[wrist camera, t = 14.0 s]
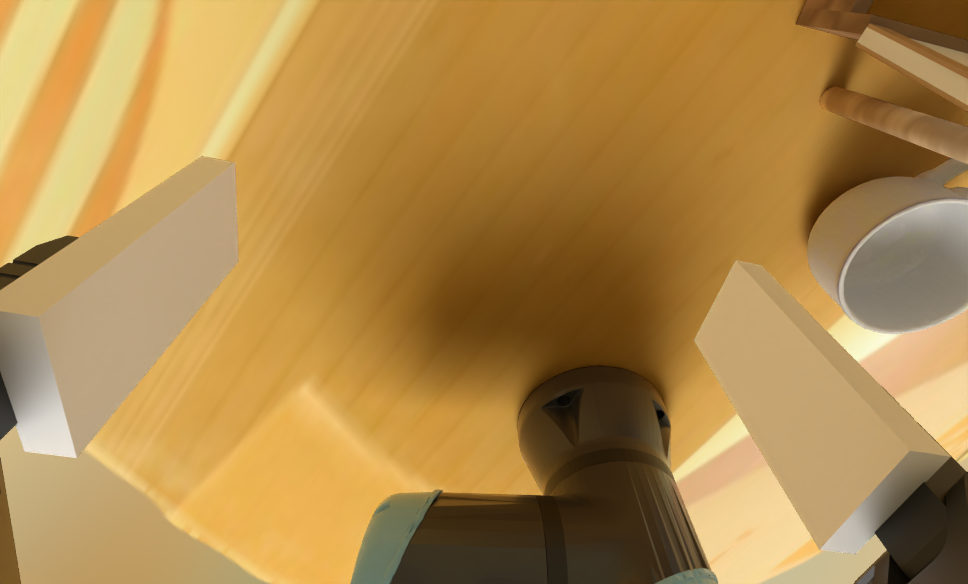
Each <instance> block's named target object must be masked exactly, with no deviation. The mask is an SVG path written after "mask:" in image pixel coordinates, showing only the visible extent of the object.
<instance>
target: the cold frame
mask: <svg viewBox="0 0 968 584" xmlns="http://www.w3.org/2000/svg"><path fill="white" fill-rule="evenodd" d="M872 2H873V0H807V1H806V3H805V5H804V7H803V9H802V12H801V14H800V16H799V18H798V20H797V22H796V24H797V25H801V26H805V27H808V28H812V29H816V30H820V31H824V32H828V33H832V34H835V35H839V36H843V37H847V38H851V39H855V40H859V38H860V37H861V35H862V34H863V32H864V31H865V29H866V27H867V26H868V24H869V23H871V24H875V25H878V26H882V27H886V28H889V29H891V30H893V31H895V32H897V33H899V34H901V35H904V36H906V37H908V38H911V39H914V40H918V41H922V42H926V43H930V44H933V45H937V46H941V47H945V48H949V49H953V50H956V51H960V52H964V53H968V40H966V39H962V38H959V37H955V36H951V35H947V34H944V33H940V32H936V31H932V30H929V29H925V28H921V27H917V26H914V25H910V24H906V23H902V22H899V21H895V20H891V19H887V18H884V17H880V16H876V15H872V14H867V12H868V10H869V8H870V6H871V4H872Z"/></svg>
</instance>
